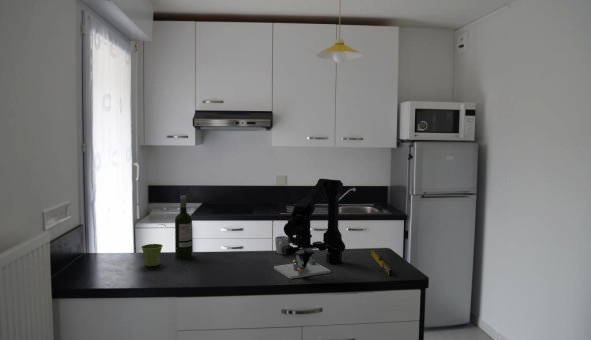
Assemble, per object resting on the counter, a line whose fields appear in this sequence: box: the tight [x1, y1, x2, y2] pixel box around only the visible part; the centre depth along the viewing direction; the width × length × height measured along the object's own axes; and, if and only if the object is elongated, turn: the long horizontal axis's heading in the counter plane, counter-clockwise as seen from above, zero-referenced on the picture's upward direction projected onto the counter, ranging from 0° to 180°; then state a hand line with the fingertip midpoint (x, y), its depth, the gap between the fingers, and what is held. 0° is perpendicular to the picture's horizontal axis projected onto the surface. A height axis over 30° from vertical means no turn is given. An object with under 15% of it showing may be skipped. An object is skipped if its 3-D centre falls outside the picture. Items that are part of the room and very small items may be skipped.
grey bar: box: [292, 255, 305, 274], centre depth 186 cm, size 5×18×4 cm, turn 3°
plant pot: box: [140, 243, 163, 267], centre depth 194 cm, size 9×9×9 cm
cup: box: [274, 235, 291, 255], centre depth 215 cm, size 11×8×8 cm
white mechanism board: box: [273, 256, 331, 280], centre depth 189 cm, size 20×16×4 cm
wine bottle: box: [174, 195, 193, 260], centre depth 207 cm, size 8×8×30 cm
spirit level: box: [370, 249, 393, 277], centre depth 199 cm, size 33×1×3 cm, turn 3°
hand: (304, 267), depth 180 cm, fingers closed
